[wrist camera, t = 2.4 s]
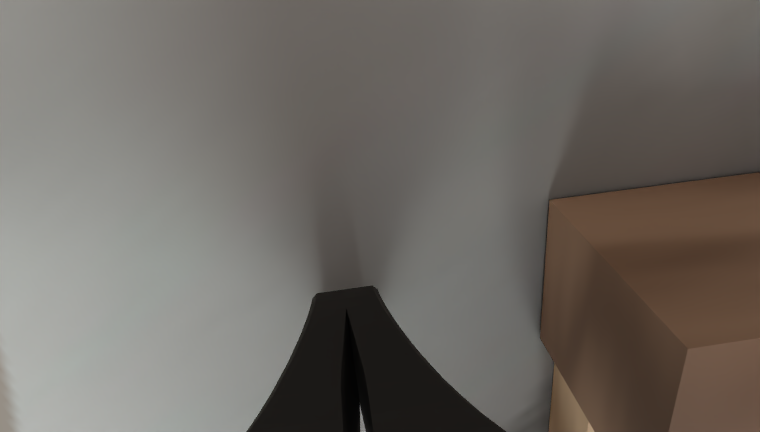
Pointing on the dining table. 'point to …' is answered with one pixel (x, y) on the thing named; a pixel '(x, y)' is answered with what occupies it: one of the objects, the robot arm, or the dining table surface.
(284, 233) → the dining table surface
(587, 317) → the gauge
